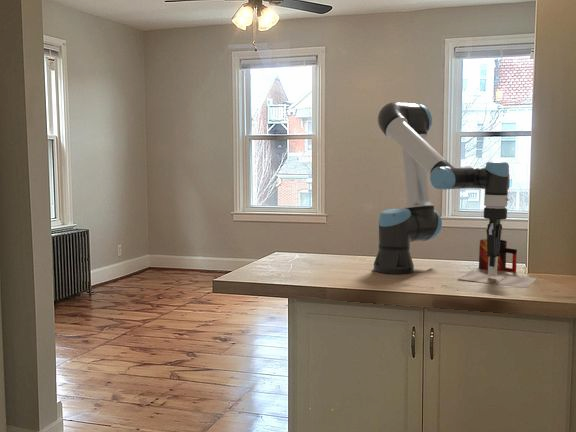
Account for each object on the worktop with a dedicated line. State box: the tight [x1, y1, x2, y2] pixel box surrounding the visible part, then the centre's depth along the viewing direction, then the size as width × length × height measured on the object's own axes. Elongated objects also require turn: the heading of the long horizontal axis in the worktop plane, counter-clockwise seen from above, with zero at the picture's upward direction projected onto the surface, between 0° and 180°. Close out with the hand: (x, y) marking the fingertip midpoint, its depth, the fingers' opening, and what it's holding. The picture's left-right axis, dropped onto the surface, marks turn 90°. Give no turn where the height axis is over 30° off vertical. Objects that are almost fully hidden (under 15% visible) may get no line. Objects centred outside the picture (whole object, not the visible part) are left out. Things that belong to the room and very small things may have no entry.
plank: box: [457, 270, 507, 285], centre depth 211 cm, size 12×18×1 cm, turn 149°
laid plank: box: [495, 274, 537, 289], centre depth 205 cm, size 10×18×1 cm, turn 149°
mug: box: [478, 238, 518, 273], centre depth 228 cm, size 10×14×12 cm
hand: (492, 275), depth 209 cm, fingers closed
